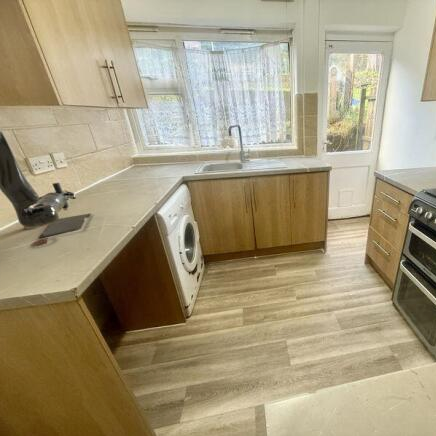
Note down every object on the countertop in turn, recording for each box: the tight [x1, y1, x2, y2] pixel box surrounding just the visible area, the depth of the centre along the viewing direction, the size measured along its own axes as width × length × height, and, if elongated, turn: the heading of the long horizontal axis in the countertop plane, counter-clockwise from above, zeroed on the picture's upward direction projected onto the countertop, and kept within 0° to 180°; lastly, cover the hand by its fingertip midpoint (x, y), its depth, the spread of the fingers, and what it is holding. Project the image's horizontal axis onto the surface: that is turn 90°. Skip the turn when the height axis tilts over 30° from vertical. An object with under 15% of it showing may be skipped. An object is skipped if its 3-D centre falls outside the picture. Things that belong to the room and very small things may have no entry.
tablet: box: [38, 213, 92, 240], centre depth 115 cm, size 15×22×1 cm
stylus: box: [52, 182, 71, 211], centre depth 115 cm, size 2×2×13 cm
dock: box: [30, 237, 49, 247], centre depth 100 cm, size 7×7×1 cm
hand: (61, 193), depth 117 cm, fingers closed on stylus, 2 cm apart
